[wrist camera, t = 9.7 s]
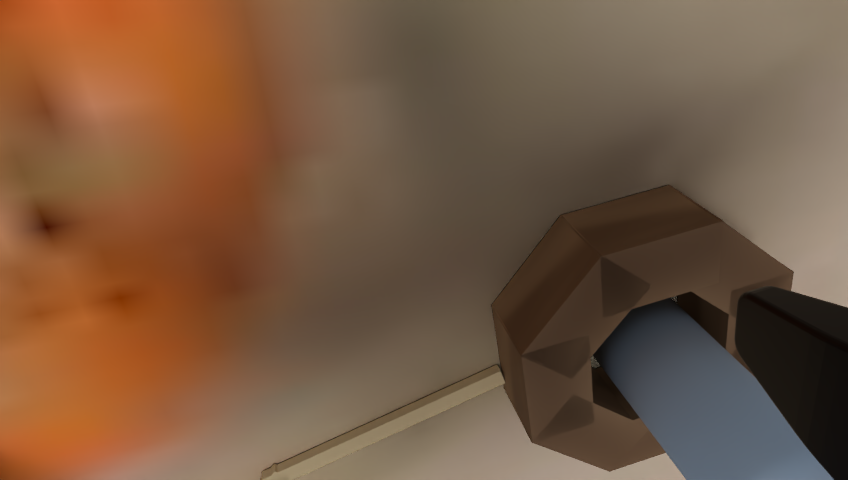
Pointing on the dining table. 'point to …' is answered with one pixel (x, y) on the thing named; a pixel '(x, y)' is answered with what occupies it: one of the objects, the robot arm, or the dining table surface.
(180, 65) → the dining table surface
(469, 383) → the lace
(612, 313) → the bead
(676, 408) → the tapered blue cylinder
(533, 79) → the dining table surface
